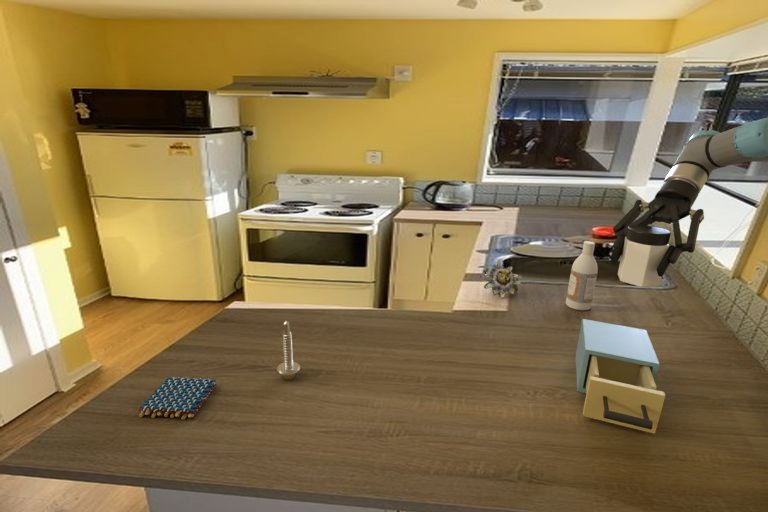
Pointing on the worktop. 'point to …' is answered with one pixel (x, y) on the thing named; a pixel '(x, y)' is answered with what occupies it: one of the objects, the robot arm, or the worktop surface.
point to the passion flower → (501, 280)
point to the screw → (288, 356)
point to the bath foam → (582, 279)
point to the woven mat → (178, 397)
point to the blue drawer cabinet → (613, 347)
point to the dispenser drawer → (622, 394)
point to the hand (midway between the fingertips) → (635, 266)
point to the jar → (643, 255)
